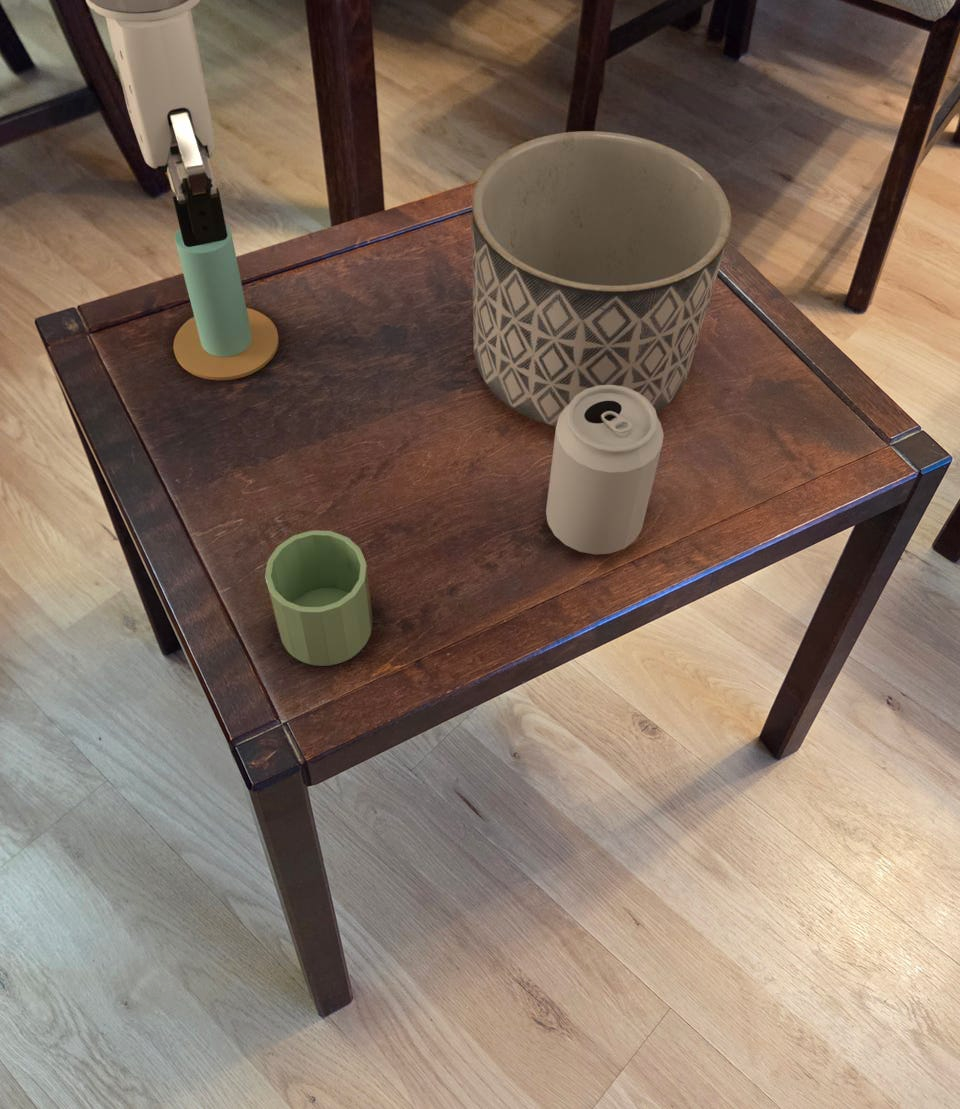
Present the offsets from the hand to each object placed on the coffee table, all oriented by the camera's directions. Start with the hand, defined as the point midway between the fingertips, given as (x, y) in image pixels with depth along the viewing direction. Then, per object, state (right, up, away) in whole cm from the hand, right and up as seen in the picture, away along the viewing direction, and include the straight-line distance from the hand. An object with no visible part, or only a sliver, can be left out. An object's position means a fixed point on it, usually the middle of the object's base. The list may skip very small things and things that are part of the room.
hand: (192, 203), depth 80 cm
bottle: (0, -8, +12) cm, 14 cm away
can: (+31, -24, +1) cm, 39 cm away
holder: (+11, -32, -5) cm, 34 cm away
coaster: (0, -8, +12) cm, 15 cm away
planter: (+31, -11, +11) cm, 34 cm away
